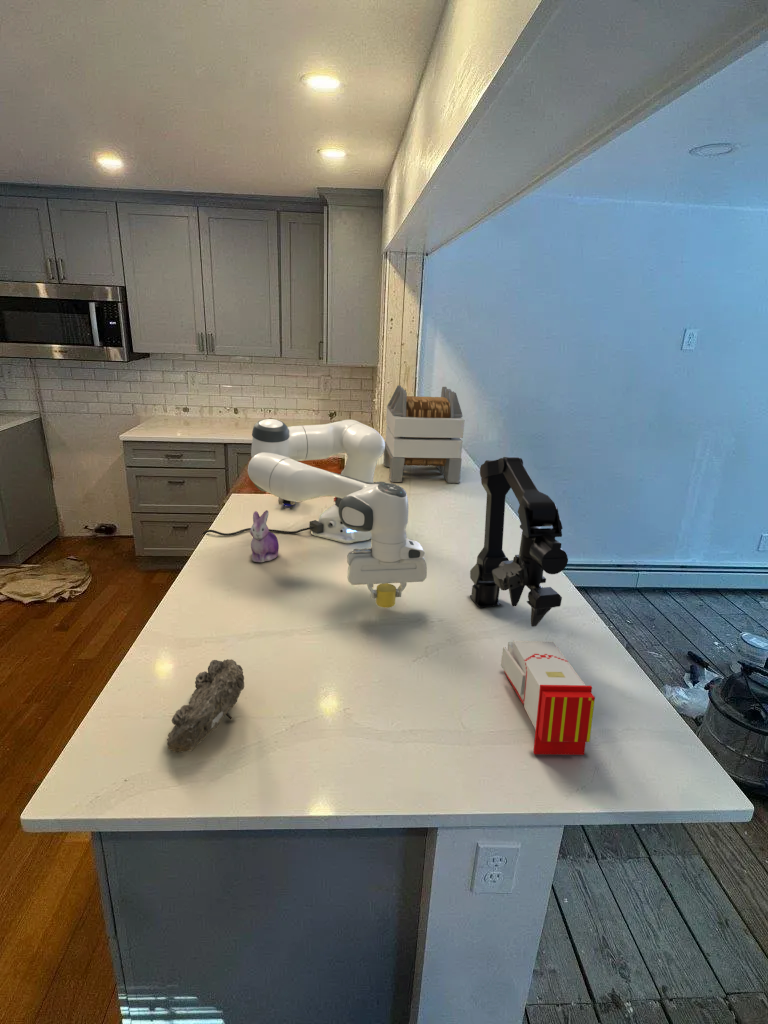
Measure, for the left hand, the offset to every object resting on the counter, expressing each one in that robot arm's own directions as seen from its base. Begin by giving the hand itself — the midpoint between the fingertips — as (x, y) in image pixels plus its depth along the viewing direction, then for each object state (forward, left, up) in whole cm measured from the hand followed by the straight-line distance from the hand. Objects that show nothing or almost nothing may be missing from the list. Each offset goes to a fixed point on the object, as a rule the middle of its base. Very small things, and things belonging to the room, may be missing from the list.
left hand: (385, 596), depth 147 cm
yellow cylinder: (0, 0, -2) cm, 2 cm away
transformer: (-21, +134, -4) cm, 136 cm away
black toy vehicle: (-58, +67, -4) cm, 89 cm away
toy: (+39, -26, -4) cm, 47 cm away
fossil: (-20, -50, -4) cm, 54 cm away
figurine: (-45, +19, -4) cm, 49 cm away
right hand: (+35, -6, +5) cm, 35 cm away
